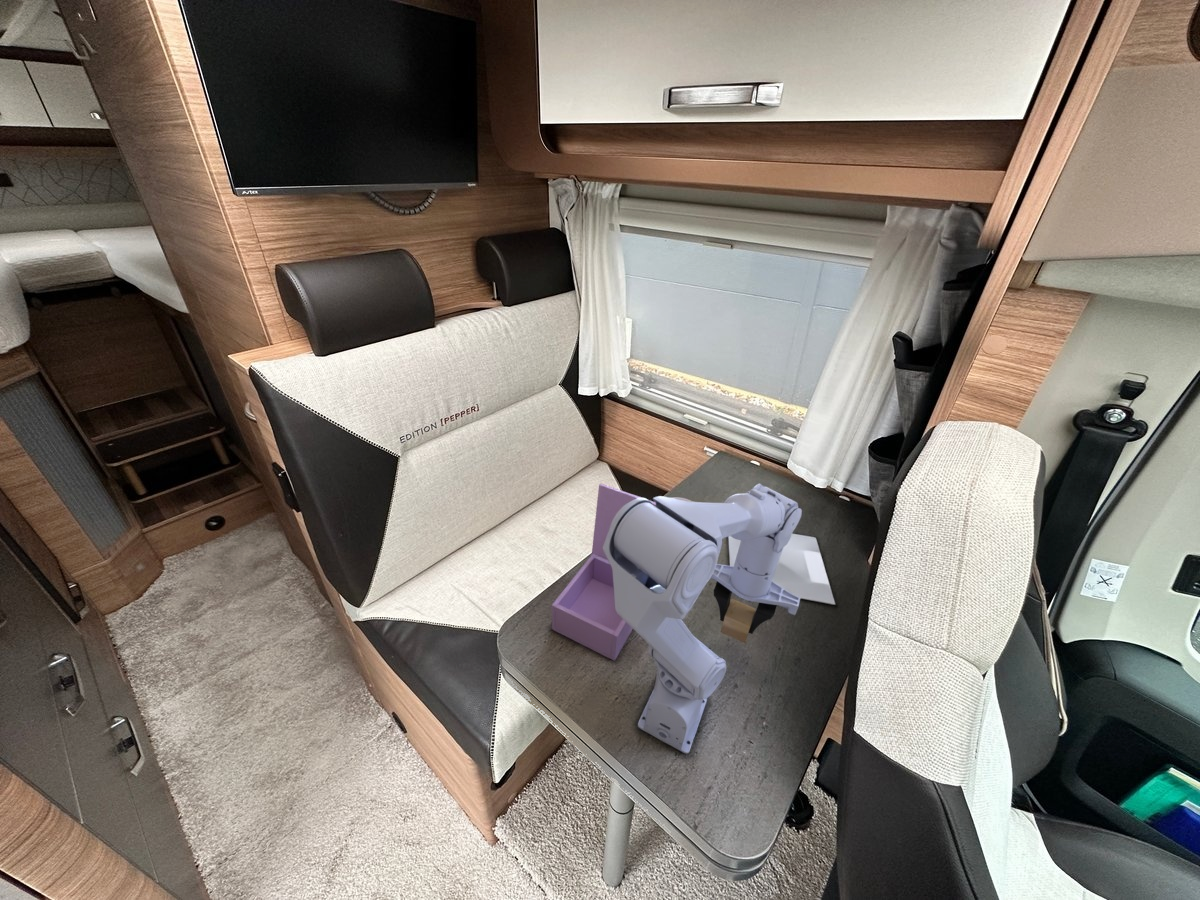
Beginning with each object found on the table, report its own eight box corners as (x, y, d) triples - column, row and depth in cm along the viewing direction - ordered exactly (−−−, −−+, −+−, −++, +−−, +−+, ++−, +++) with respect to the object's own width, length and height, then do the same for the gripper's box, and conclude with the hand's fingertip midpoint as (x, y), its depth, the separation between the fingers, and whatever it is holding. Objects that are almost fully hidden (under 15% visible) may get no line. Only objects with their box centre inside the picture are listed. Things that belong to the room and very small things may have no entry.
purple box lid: (664, 507, 79) (665, 505, 80) (598, 484, 84) (600, 483, 85) (651, 578, 86) (652, 575, 87) (591, 553, 91) (593, 551, 91)
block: (744, 643, 74) (750, 626, 72) (720, 632, 76) (724, 615, 74) (750, 625, 77) (756, 608, 75) (726, 614, 79) (731, 598, 77)
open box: (614, 661, 79) (617, 636, 75) (551, 629, 83) (551, 605, 80) (648, 601, 90) (651, 578, 87) (591, 576, 95) (592, 553, 91)
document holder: (730, 585, 94) (834, 604, 91) (731, 584, 94) (835, 604, 91) (727, 523, 111) (815, 538, 108) (727, 522, 111) (815, 537, 108)
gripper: (811, 563, 69) (787, 624, 76) (716, 528, 75) (702, 588, 82) (804, 594, 64) (780, 657, 71) (702, 555, 69) (688, 617, 76)
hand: (737, 622), depth 76 cm, fingers closed on block, 4 cm apart
